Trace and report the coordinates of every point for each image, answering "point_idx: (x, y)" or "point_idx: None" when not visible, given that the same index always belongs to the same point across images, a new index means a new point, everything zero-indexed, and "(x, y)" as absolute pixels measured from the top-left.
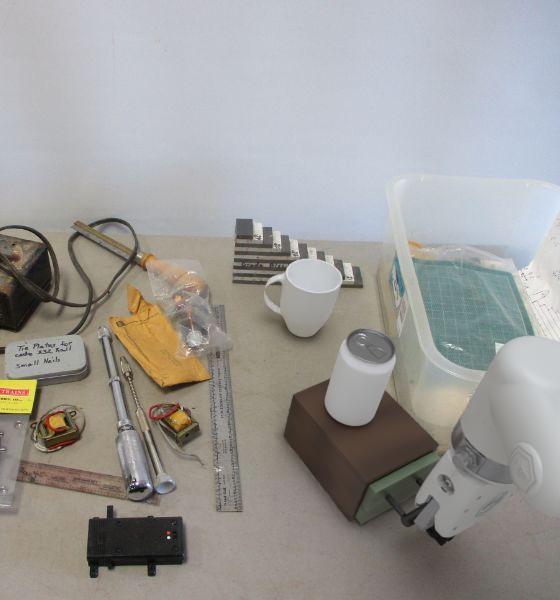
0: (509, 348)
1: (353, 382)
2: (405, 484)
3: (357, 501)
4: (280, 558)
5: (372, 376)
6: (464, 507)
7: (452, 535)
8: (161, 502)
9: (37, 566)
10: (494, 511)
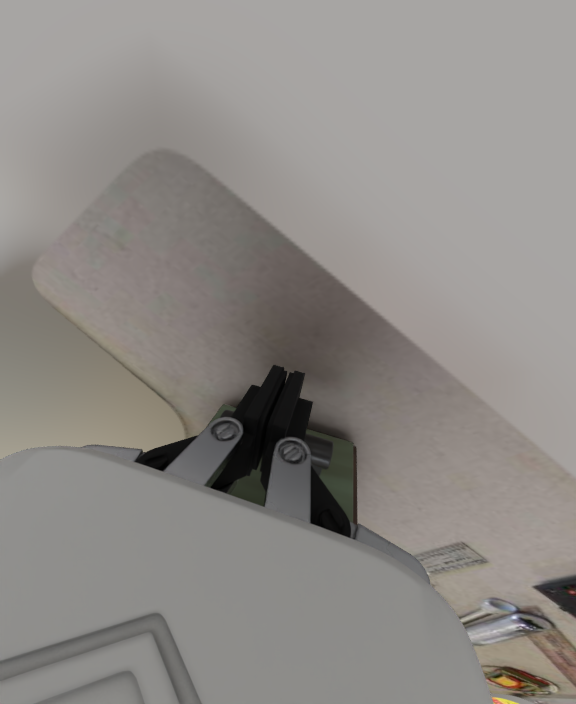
0: None
1: None
2: (260, 487)
3: (356, 509)
4: (499, 489)
5: None
6: None
7: (413, 596)
8: (529, 604)
9: None
10: (104, 472)
